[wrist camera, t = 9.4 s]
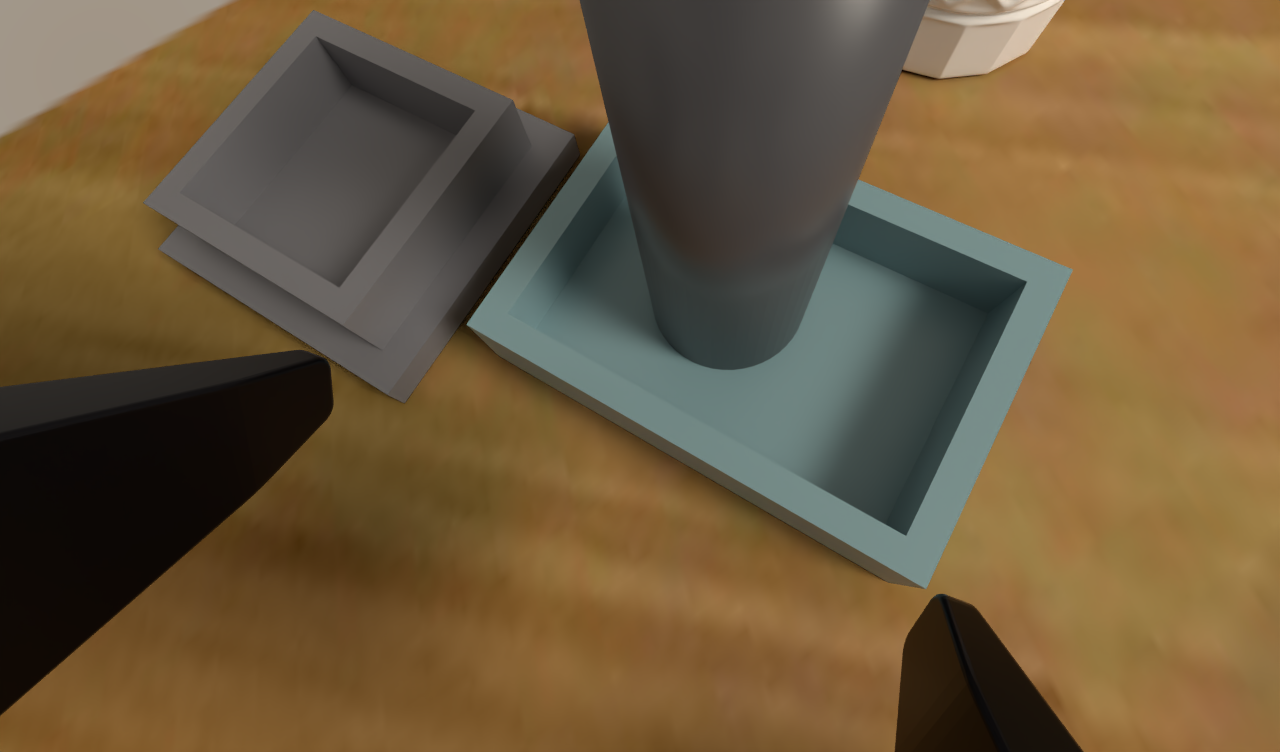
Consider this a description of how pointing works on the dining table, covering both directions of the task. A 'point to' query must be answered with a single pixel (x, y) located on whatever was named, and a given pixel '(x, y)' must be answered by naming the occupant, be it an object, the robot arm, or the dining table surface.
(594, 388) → the trough
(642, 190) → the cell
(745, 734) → the dining table surface
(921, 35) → the white cup
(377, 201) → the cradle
